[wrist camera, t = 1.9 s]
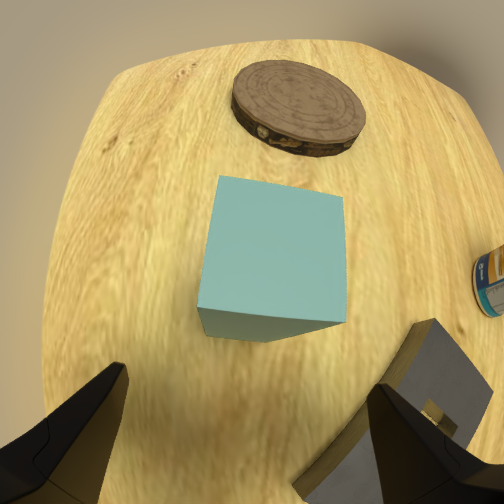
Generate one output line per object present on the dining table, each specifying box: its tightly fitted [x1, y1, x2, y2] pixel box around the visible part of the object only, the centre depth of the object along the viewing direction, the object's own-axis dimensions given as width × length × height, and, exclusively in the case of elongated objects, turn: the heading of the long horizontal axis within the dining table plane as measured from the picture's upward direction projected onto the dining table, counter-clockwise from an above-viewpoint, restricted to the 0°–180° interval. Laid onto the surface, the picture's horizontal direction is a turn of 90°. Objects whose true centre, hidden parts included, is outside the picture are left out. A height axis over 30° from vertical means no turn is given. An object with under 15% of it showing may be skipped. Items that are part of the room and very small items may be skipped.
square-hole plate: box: [292, 318, 493, 504], centre depth 16 cm, size 18×14×3 cm
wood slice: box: [231, 60, 366, 157], centre depth 29 cm, size 16×16×3 cm
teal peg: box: [197, 175, 347, 343], centre depth 14 cm, size 4×4×13 cm
